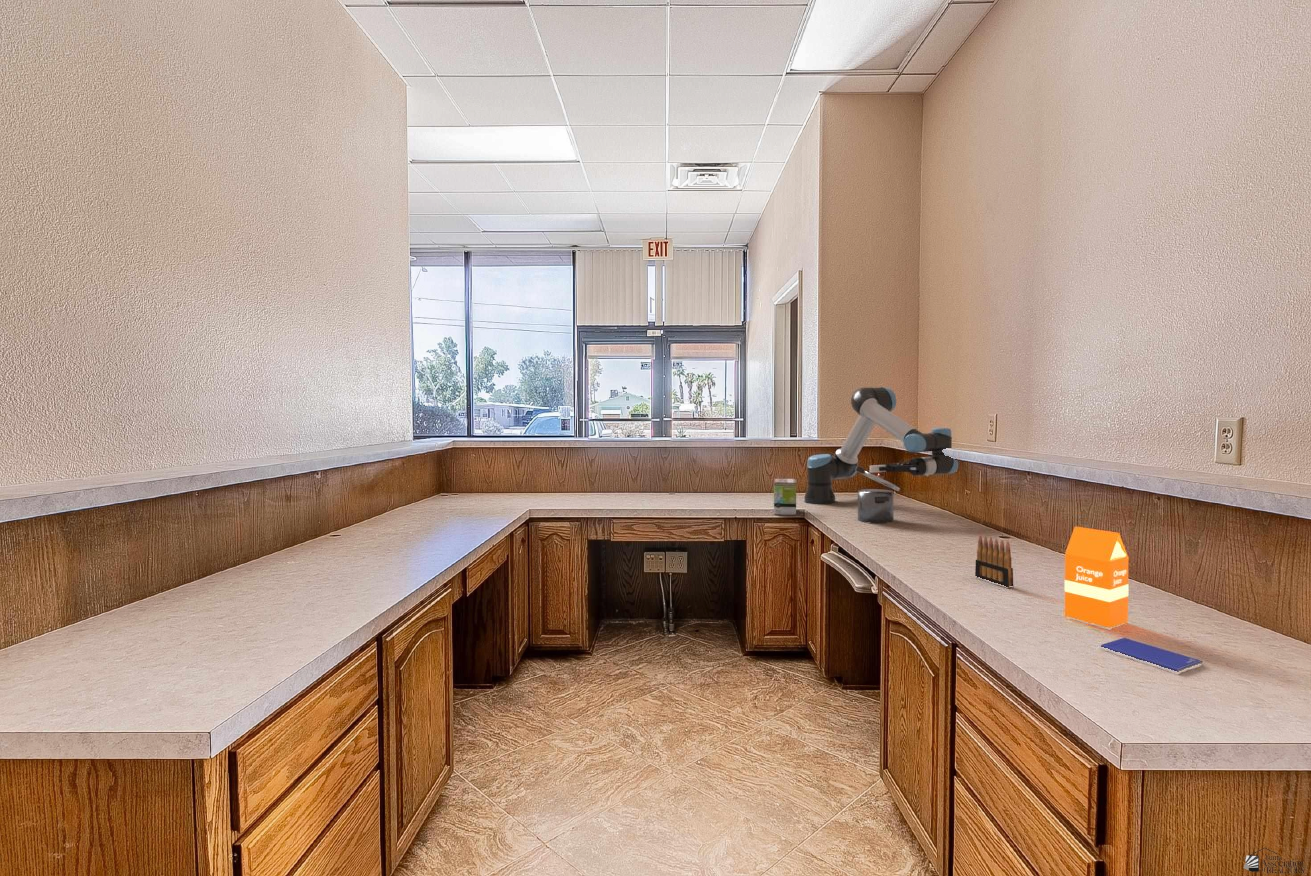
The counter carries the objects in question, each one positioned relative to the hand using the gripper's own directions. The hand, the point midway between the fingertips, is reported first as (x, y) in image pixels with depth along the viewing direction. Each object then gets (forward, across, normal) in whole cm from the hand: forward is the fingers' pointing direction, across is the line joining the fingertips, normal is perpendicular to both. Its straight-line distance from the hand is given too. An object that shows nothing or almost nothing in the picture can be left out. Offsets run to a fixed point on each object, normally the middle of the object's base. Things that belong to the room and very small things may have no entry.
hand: (870, 469), depth 244 cm
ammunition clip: (+17, -84, -22) cm, 88 cm away
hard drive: (+26, -131, -23) cm, 135 cm away
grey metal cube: (-5, +4, -22) cm, 23 cm away
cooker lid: (-5, +4, -5) cm, 8 cm away
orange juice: (+18, -113, -22) cm, 117 cm away
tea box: (+22, +35, -22) cm, 47 cm away
